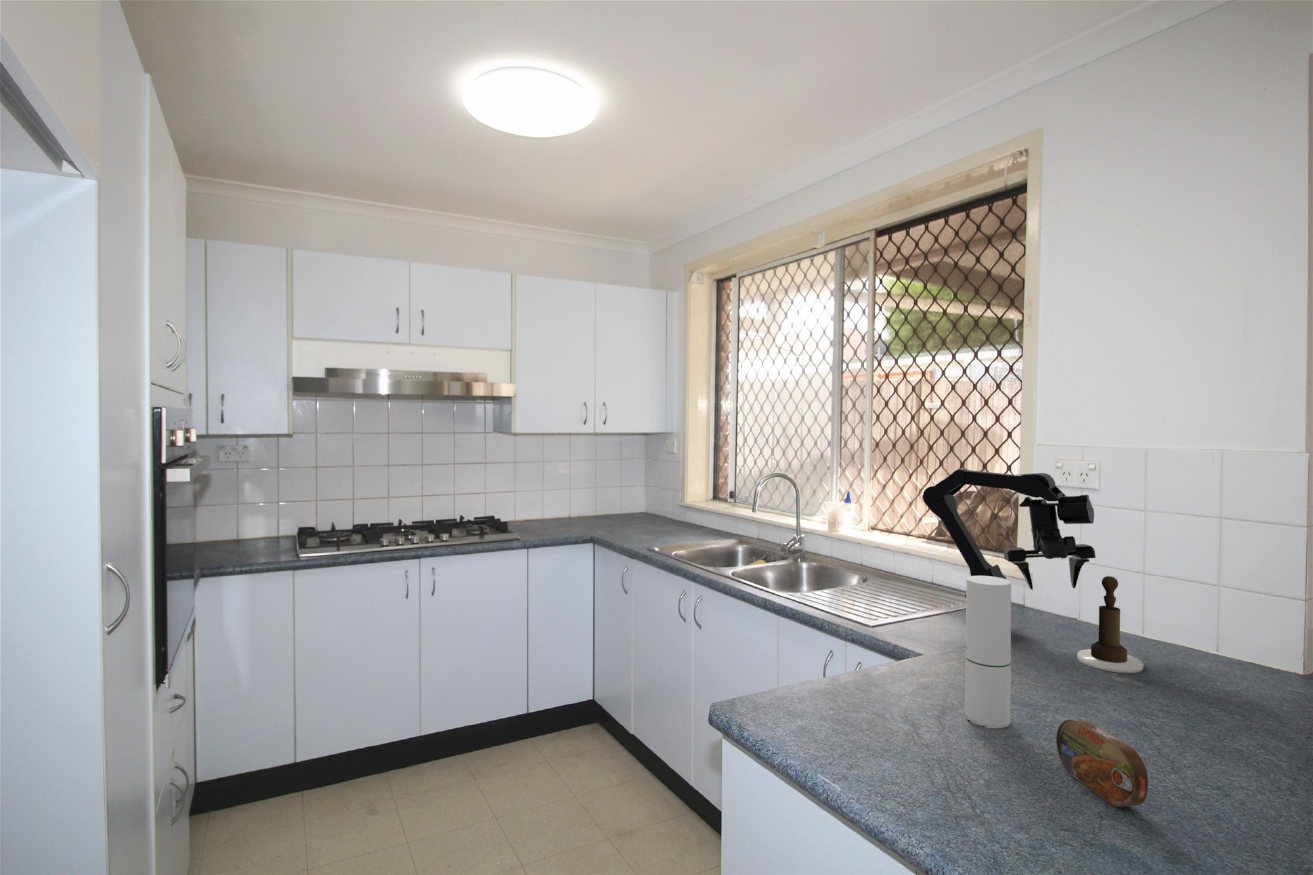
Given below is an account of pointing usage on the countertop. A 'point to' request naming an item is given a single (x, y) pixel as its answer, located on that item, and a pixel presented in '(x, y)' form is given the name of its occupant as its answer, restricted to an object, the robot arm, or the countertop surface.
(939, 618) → the countertop surface
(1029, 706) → the countertop surface
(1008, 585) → the cylindrical container
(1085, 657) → the cream plate
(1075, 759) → the tin
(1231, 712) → the countertop surface
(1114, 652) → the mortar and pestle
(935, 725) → the countertop surface
